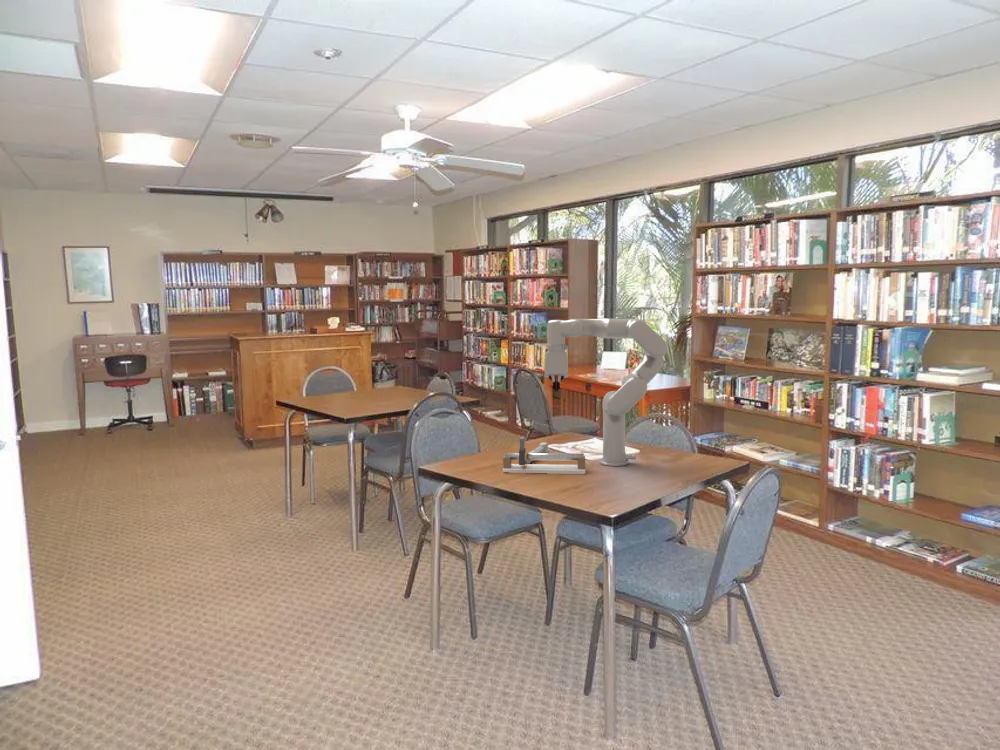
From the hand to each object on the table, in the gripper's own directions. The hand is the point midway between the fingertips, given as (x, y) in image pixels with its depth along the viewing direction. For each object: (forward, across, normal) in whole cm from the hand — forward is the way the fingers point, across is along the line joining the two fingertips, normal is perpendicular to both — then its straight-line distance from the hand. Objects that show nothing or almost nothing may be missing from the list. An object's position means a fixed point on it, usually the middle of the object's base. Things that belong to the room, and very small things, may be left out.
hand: (556, 390), depth 304 cm
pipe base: (+32, +5, +13) cm, 35 cm away
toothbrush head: (+33, +10, -7) cm, 35 cm away
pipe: (+28, +5, +13) cm, 31 cm away
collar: (+29, +14, +13) cm, 35 cm away
